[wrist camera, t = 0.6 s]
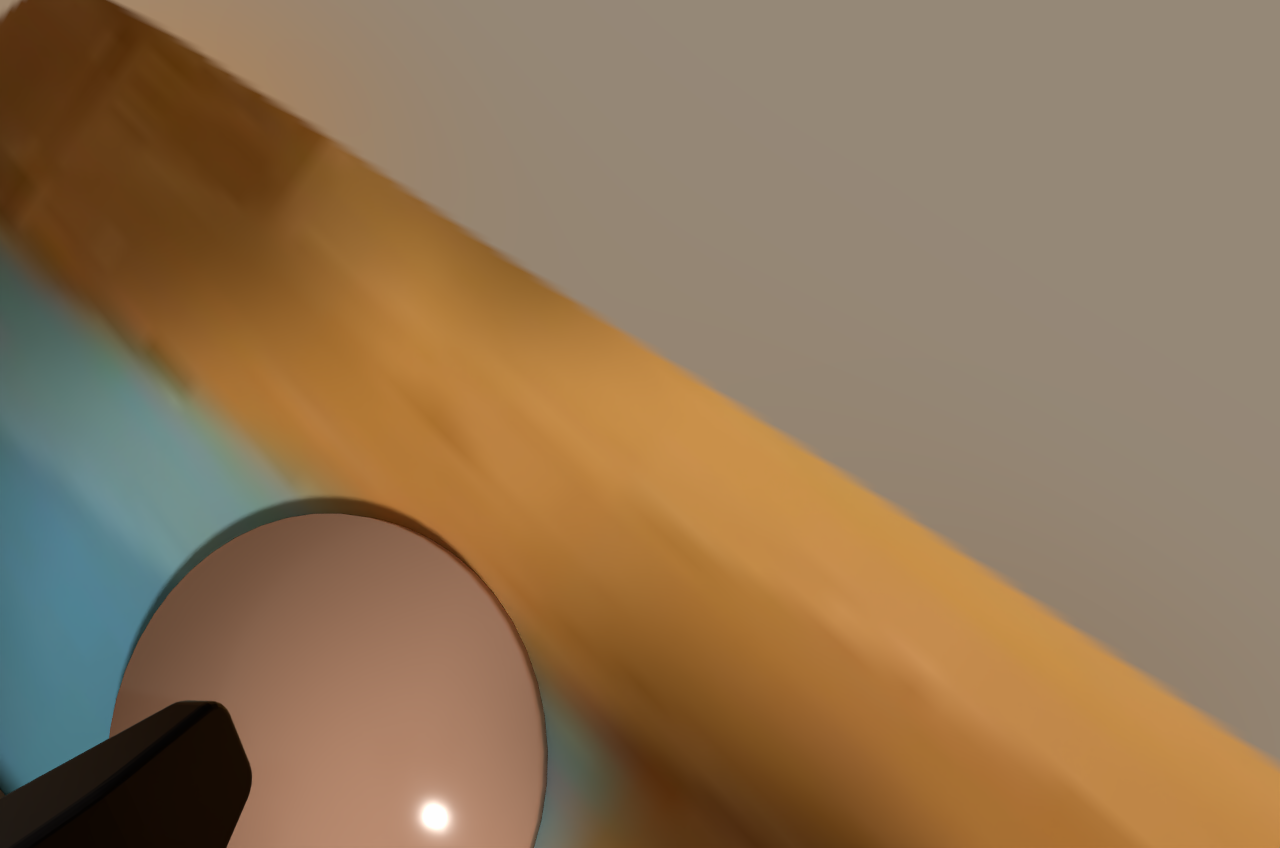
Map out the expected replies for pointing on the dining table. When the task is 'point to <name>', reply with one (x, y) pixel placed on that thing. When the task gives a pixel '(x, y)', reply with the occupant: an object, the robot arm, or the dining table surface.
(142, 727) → the robot arm
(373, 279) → the dining table surface
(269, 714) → the coaster
